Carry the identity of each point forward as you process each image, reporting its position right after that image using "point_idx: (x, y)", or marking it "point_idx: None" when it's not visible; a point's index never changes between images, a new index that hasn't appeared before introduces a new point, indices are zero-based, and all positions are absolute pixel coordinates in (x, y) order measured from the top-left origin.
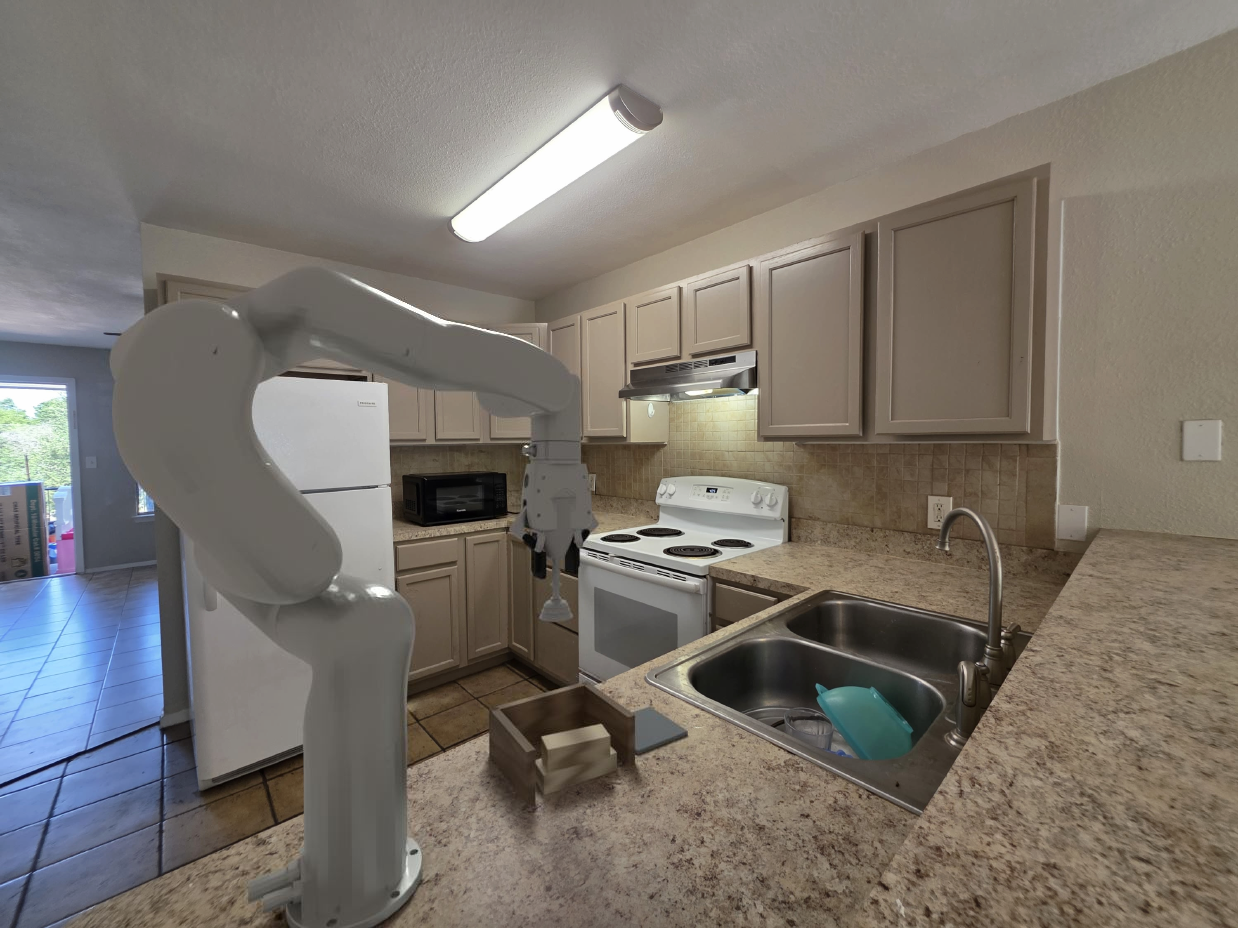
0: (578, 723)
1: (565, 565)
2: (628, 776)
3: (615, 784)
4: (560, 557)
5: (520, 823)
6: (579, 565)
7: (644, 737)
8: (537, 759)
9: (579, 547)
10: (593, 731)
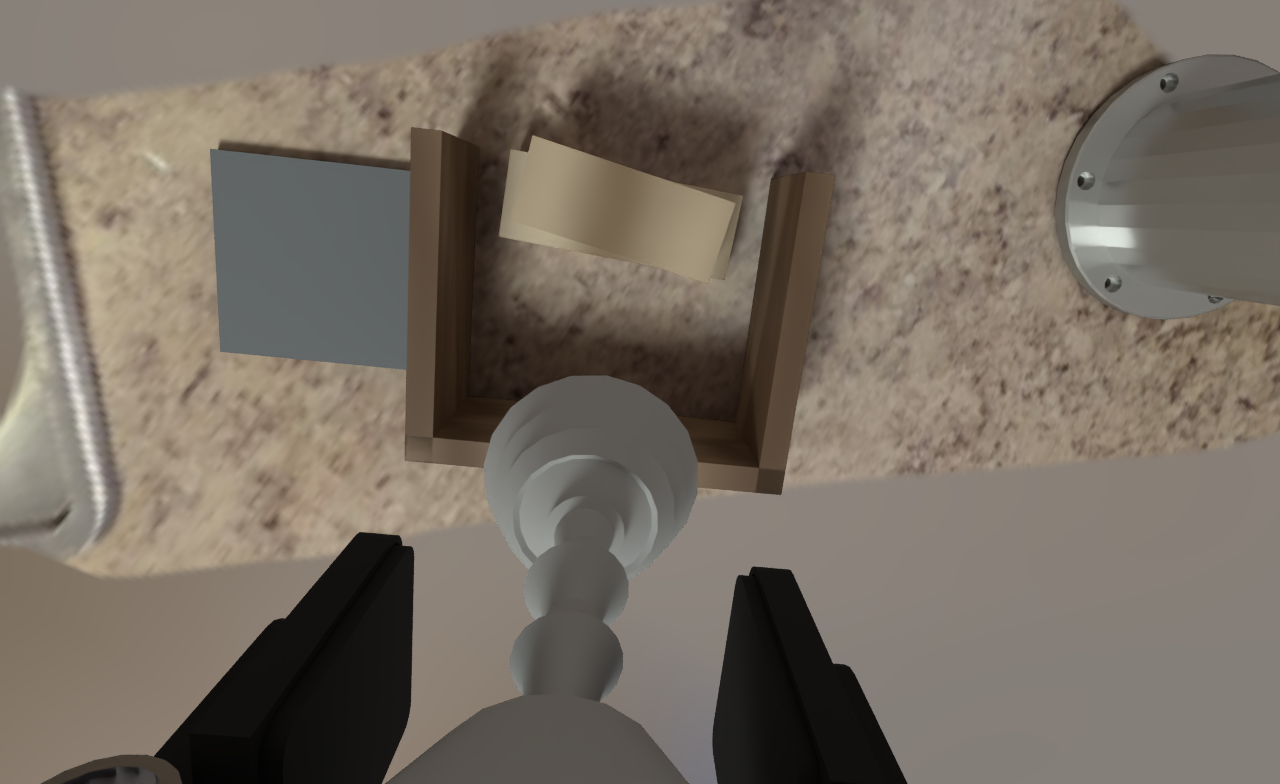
0: (484, 403)
1: (389, 750)
2: (510, 105)
3: (562, 101)
4: (550, 694)
5: (838, 138)
6: (277, 621)
7: (356, 213)
8: (714, 277)
9: (144, 761)
10: (560, 197)
